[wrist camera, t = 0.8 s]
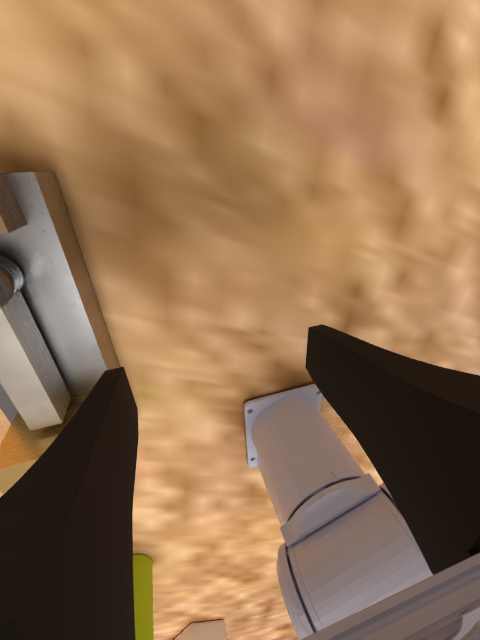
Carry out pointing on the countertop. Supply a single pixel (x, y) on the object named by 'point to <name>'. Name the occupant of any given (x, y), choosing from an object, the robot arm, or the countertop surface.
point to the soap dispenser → (143, 597)
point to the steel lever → (27, 357)
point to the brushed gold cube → (28, 445)
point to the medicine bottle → (204, 631)
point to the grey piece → (53, 281)
